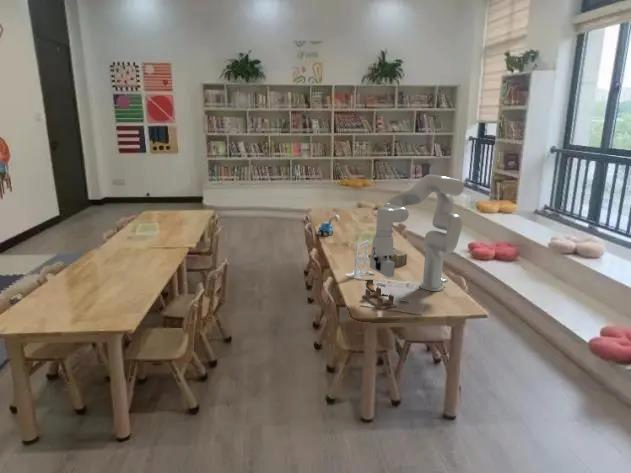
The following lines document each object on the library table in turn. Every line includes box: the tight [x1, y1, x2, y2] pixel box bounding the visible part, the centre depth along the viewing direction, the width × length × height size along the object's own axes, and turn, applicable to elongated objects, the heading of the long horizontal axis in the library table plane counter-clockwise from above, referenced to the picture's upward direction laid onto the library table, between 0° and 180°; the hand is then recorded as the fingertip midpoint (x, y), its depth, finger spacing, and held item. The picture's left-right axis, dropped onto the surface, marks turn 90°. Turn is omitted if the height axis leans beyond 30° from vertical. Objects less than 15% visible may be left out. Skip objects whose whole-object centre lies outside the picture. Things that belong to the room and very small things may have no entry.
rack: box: [361, 287, 397, 311], centre depth 230 cm, size 8×18×5 cm, turn 26°
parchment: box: [364, 279, 376, 292], centre depth 250 cm, size 25×10×1 cm, turn 14°
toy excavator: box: [317, 214, 340, 238], centre depth 355 cm, size 9×17×17 cm, turn 57°
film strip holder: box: [344, 239, 376, 281], centre depth 267 cm, size 14×14×20 cm
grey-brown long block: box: [383, 246, 408, 268], centre depth 299 cm, size 8×8×29 cm
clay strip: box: [369, 254, 396, 278], centre depth 226 cm, size 4×16×7 cm, turn 26°
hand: (381, 268), depth 226 cm, fingers closed on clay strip, 3 cm apart
